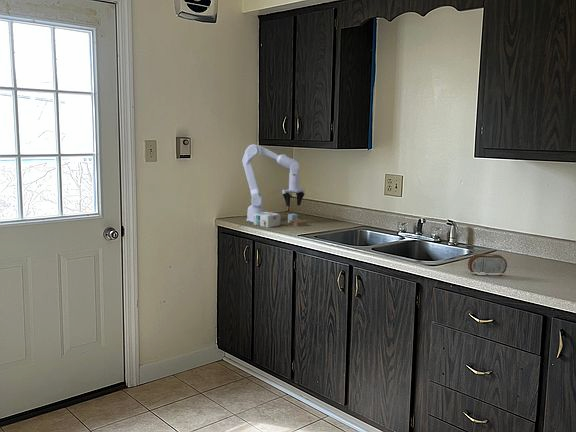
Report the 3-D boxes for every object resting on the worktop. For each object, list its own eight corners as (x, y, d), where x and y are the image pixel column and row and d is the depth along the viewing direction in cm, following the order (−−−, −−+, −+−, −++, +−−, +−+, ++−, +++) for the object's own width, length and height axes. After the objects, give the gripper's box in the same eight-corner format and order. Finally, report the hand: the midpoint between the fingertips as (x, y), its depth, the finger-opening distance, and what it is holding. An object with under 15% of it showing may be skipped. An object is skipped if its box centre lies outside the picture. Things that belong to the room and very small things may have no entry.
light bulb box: (268, 215, 326) (253, 213, 333) (267, 228, 327) (253, 225, 334) (280, 213, 334) (266, 211, 341) (280, 225, 335) (266, 222, 342)
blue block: (287, 222, 347) (288, 214, 346) (293, 222, 349) (293, 213, 348) (291, 223, 344) (292, 215, 343) (297, 223, 346) (297, 214, 345)
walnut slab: (289, 225, 340) (289, 220, 339) (299, 224, 344) (299, 219, 343) (296, 227, 334) (296, 221, 333) (306, 226, 338) (306, 221, 337)
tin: (503, 274, 239) (505, 254, 238) (507, 276, 236) (509, 255, 235) (466, 273, 239) (468, 253, 237) (469, 275, 236) (471, 254, 234)
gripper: (287, 183, 335) (286, 207, 337) (308, 182, 344) (307, 205, 346) (280, 181, 341) (279, 205, 343) (301, 181, 349) (300, 204, 351)
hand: (293, 205), depth 345 cm, fingers open, 7 cm apart
